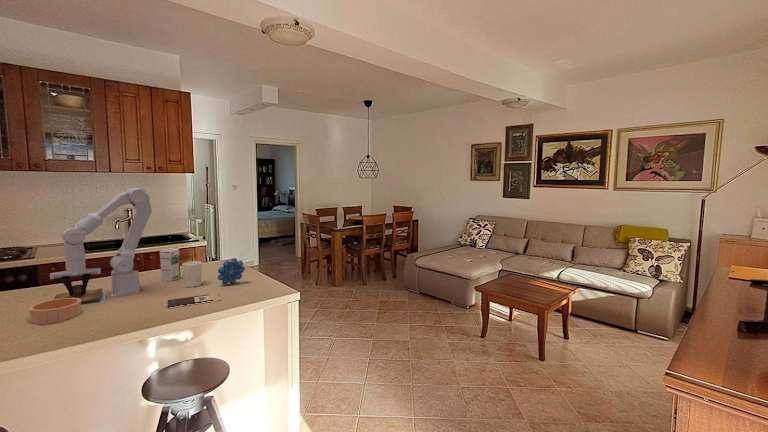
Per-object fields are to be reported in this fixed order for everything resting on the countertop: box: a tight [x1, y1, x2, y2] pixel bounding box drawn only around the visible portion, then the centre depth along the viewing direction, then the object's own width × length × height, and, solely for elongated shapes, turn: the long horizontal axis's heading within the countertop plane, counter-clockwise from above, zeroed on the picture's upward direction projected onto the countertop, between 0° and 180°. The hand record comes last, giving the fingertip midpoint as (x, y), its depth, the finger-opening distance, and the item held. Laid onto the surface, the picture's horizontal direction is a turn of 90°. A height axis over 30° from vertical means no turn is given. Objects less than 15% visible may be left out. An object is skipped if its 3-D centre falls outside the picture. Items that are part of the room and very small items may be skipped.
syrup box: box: [159, 247, 182, 282], centre depth 167 cm, size 6×6×14 cm
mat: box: [50, 290, 108, 307], centre depth 136 cm, size 17×17×1 cm
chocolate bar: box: [167, 294, 213, 309], centre depth 138 cm, size 9×1×18 cm
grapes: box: [216, 257, 246, 285], centre depth 162 cm, size 12×7×12 cm, turn 122°
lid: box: [53, 284, 103, 302], centre depth 136 cm, size 14×14×5 cm
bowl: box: [27, 298, 83, 325], centre depth 120 cm, size 13×13×4 cm
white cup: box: [181, 260, 203, 288], centre depth 159 cm, size 8×8×10 cm
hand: (77, 294), depth 136 cm, fingers closed on lid, 3 cm apart
